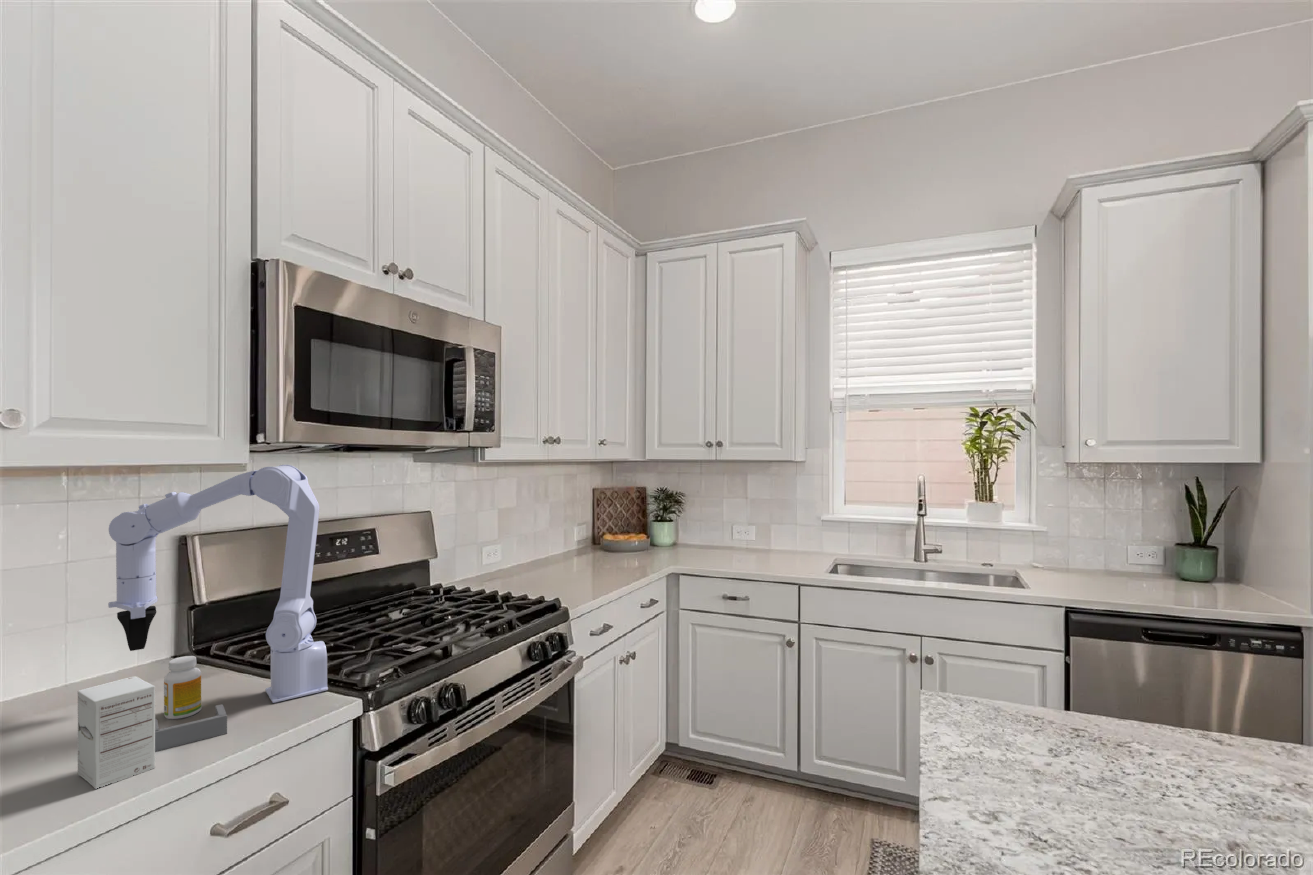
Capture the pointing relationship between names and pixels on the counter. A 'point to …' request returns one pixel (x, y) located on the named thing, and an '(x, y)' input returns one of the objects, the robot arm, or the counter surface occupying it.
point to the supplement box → (116, 730)
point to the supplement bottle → (182, 688)
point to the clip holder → (191, 730)
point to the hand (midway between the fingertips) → (137, 649)
